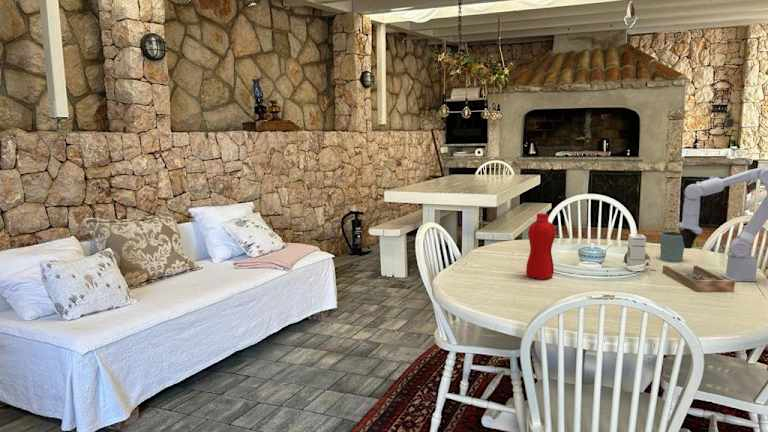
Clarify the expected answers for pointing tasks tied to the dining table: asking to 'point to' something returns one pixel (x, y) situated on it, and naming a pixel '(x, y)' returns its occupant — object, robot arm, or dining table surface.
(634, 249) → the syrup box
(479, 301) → the dining table surface
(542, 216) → the water bottle
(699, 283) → the bay
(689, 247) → the robot arm
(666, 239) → the grey cup
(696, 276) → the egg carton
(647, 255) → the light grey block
